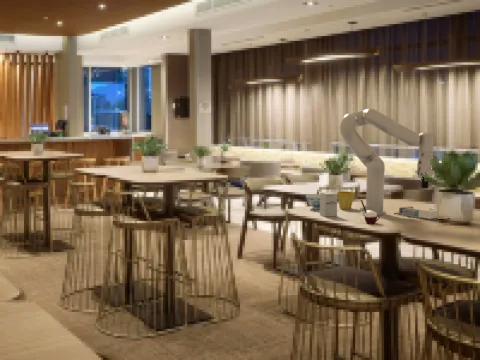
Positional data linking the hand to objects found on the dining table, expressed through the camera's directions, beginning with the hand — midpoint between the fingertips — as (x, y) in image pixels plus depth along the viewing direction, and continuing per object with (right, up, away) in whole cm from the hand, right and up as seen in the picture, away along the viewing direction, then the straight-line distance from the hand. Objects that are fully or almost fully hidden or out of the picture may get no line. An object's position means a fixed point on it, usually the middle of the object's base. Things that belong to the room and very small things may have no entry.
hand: (424, 188), depth 334 cm
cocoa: (-36, -18, -25) cm, 48 cm away
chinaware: (-56, -13, +25) cm, 62 cm away
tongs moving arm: (-6, -15, -1) cm, 16 cm away
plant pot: (-40, -13, +25) cm, 49 cm away
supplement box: (-54, -15, -1) cm, 56 cm away
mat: (-3, -16, -3) cm, 16 cm away
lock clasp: (0, -15, -11) cm, 19 cm away
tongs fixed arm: (-5, -14, +1) cm, 15 cm away
